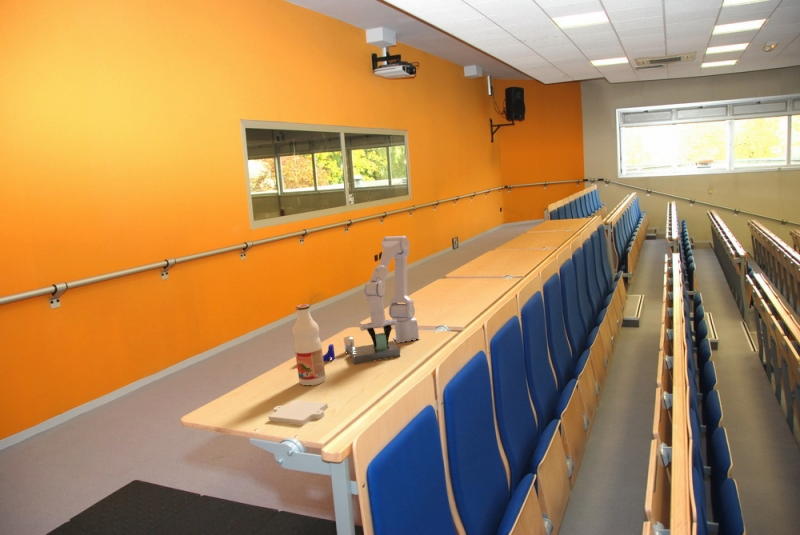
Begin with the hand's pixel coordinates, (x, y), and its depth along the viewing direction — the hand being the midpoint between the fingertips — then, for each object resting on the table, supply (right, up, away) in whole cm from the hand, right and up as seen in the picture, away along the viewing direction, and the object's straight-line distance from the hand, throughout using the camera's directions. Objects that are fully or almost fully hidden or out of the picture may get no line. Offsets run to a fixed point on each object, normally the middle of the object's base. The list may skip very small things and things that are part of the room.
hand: (381, 345), depth 239 cm
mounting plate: (-24, -16, -50) cm, 58 cm away
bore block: (-2, -4, 0) cm, 5 cm away
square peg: (0, -2, +1) cm, 2 cm away
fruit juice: (-24, -10, -22) cm, 34 cm away
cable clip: (-24, -7, +1) cm, 25 cm away
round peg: (-13, -4, +9) cm, 16 cm away
